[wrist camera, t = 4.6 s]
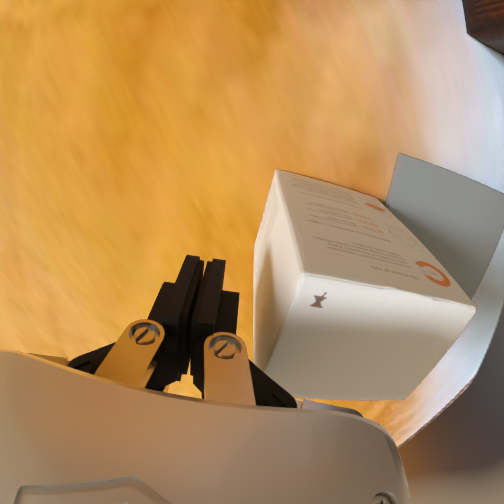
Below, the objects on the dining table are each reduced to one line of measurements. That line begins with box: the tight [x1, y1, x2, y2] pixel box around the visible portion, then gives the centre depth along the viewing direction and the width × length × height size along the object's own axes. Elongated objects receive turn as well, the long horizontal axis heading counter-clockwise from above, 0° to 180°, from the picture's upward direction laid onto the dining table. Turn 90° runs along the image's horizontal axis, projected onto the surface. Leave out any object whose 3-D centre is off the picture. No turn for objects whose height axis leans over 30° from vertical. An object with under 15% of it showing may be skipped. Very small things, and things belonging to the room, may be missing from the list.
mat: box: [384, 153, 504, 300], centre depth 22 cm, size 15×14×1 cm
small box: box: [253, 170, 477, 401], centre depth 16 cm, size 8×6×13 cm
